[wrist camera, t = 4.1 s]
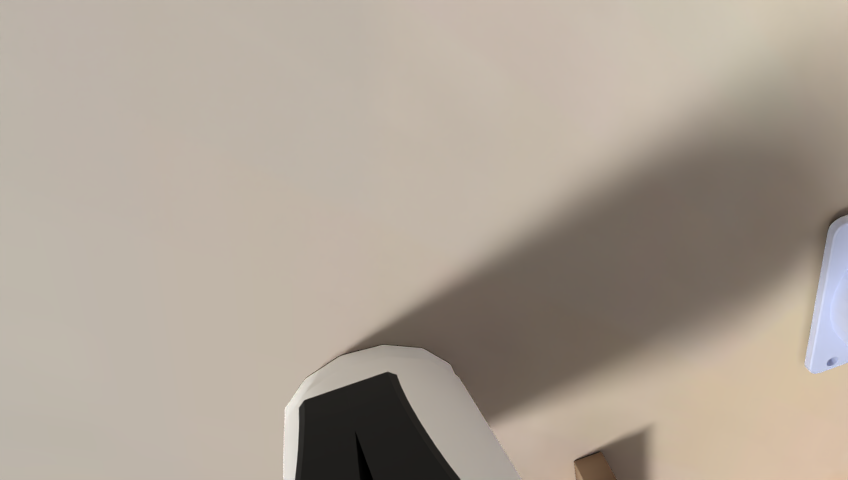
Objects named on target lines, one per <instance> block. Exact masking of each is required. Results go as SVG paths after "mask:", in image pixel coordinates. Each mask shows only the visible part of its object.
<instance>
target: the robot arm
mask: <svg viewBox="0 0 848 480" xmlns="http://www.w3.org/2000/svg"><path fill="white" fill-rule="evenodd" d="M845 363H848V215H846V216H843V217H840V218H838V219H837V220H835V221H834V222H833V223H832V224H831V226H830V227H829V230H828V233H827V239H826V244H825V250H824V256H823V261H822V267H821V273H820V279H819V284H818V290H817V296H816V301H815V307H814V313H813V319H812V324H811V330H810V336H809V341H808V347H807V353H806V358H805V367H806V368H807V369H808V370H809V371H810V372H811V373H815V374H816V373H820V372H823V371H826V370H829V369H832V368H834V367H837V366H840V365H843V364H845ZM295 480H461V479H460V478H459V477H458V475H457V474H456V473H455V472H454V470H453V469H452V468H451V466H450V465H449V464H448V462H447V461H446V460H445V458H444V457H443V455H442V454H441V452H440V451H439V450H438V448H437V447H436V445H435V444H434V442H433V441H432V439H431V438H430V436H429V435H428V433H427V432H426V430H425V428H424V427H423V425H422V424H421V422H420V421H419V419H418V417H417V415H416V414H415V412H414V410H413V409H412V407H411V405H410V403H409V401H408V399H407V397H406V395H405V393H404V391H403V389H402V387H401V385H400V382H399V379H398V377H397V375H396V374H393V373H390V372H385V373H382V374H379V375H376V376H373V377H370V378H367V379H364V380H361V381H359V382H356V383H353V384H350V385H347V386H344V387H341V388H338V389H335V390H332V391H329V392H326V393H323V394H320V395H318V396H315V397H312V398H309V399H306V400H304V401H303V403H302V404H301V405H300V407H299V436H298V453H297V465H296V474H295Z"/></svg>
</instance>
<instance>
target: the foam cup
mask: <svg viewBox="0 0 848 480" xmlns="http://www.w3.org/2000/svg"><path fill="white" fill-rule="evenodd" d="M385 372H390V373H393V374H396V375H397V377H398V379H399V382H400V385H401V387H402V389H403V391H404V393H405V395H406V397H407V399H408V401H409V403H410V405H411V407H412V409H413V410H414V412H415V414H416V415H417V417H418V419H419V421H420V422H421V424H422V425H423V427H424V428H425V430H426V432H427V433H428V435H429V436H430V438H431V439H432V441H433V442H434V444H435V445H436V447H437V448H438V450H439V451H440V452H441V454H442V455H443V457H444V458H445V460H446V461H447V462H448V464H449V465H450V466H451V468H452V469H453V470H454V472H455V473H456V474H457V475H458V477H459V478H460V479H461V480H522V478H521V477H520V475H519V473H518V472H517V470H516V469H515V467H514V465H513V464H512V462H511V461H510V459H509V457H508V456H507V454H506V452H505V451H504V449H503V448H502V446H501V444H500V443H499V441H498V439H497V438H496V436H495V435H494V433H493V431H492V430H491V428H490V427H489V425H488V423H487V422H486V420H485V418H484V417H483V415H482V414H481V412H480V410H479V409H478V407H477V406H476V404H475V402H474V401H473V399H472V397H471V396H470V394H469V393H468V391H467V389H466V388H465V386H464V385H463V383H462V381H461V380H460V378H459V376H457V375H455V373H454V371H453V369H452V367H451V364H449V363H447V362H446V361H444V360H442V359H440V358H439V357H437V356H435V355H434V354H432V353H430V352H428V351H427V350H425V349H423V348H415V347H403V346H391V345H380V346H376V347H372V348H369V349H365V350H361V351H357V352H353V353H349V354H345V355H342V356H339V357H338V358H336V359H335V360H333V361H332V362H330V363H329V364H327V365H325V366H324V367H322V368H321V369H319V370H318V371H316V372H315V373H313V374H312V375H310V376H309V377H307V378H306V379H304V381H303V382H302V384H301V385H300V387H299V388H298V390H297V391H296V393H295V394H294V396H293V397H292V399H291V400H290V402H289V403H288V405H287V406H286V408H285V423H284V452H283V480H295V474H296V465H297V453H298V436H299V407H300V405H301V404H302V403H303V401H304V400H306V399H309V398H312V397H315V396H318V395H320V394H323V393H326V392H329V391H332V390H335V389H338V388H341V387H344V386H347V385H350V384H353V383H356V382H359V381H361V380H364V379H367V378H370V377H373V376H376V375H379V374H382V373H385Z"/></svg>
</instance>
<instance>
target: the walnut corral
mask: <svg viewBox="0 0 848 480" xmlns="http://www.w3.org/2000/svg"><path fill="white" fill-rule="evenodd" d="M574 466H575V474H576V480H617V479H616V478H615V476H614V474H613V472H612V470H611V469H610V467H609V465H608V463H607V461H606V460H605V458H604V456H603V454H602V452H599V453H596V454H593V455H590V456H588V457H585V458H582V459H579V460H577V461H574Z"/></svg>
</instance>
